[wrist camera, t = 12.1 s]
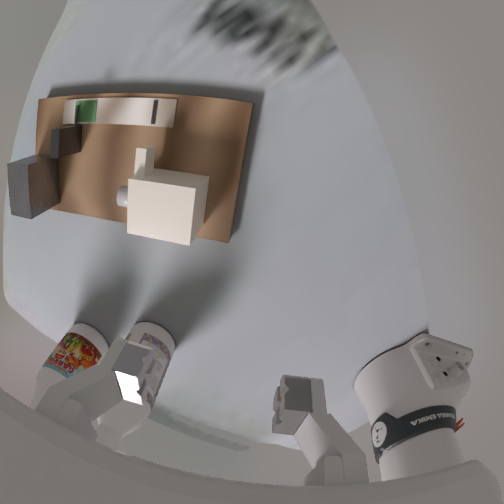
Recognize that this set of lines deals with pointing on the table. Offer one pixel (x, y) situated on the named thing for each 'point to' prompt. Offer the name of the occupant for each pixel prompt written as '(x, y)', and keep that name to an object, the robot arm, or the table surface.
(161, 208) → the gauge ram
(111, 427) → the bath foam
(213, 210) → the wooden tray
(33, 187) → the dark grey cube
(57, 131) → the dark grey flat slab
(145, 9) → the table surface
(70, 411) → the robot arm
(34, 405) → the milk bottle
